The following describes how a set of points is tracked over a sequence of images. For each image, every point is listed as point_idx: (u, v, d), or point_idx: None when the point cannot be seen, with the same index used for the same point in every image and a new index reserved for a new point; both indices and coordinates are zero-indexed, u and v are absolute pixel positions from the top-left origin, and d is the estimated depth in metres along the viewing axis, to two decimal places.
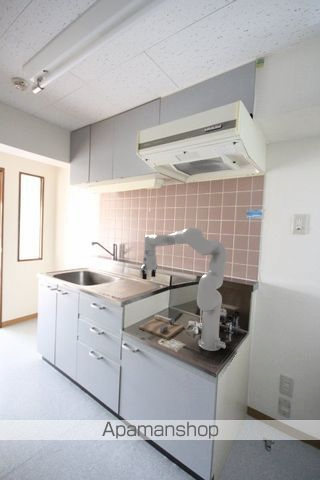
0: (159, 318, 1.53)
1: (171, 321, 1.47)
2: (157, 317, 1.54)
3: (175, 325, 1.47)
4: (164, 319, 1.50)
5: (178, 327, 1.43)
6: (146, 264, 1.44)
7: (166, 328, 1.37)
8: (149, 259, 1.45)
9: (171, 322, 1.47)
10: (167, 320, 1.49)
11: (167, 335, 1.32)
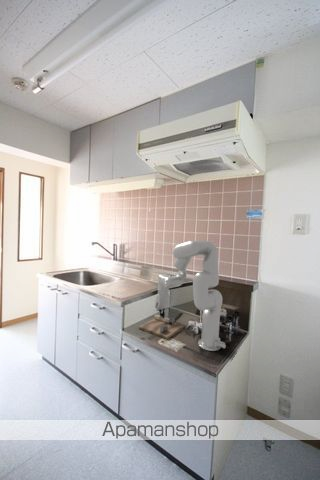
0: (159, 318, 1.53)
1: (171, 321, 1.47)
2: (157, 317, 1.54)
3: (175, 325, 1.47)
4: (164, 319, 1.50)
5: (178, 327, 1.43)
6: None
7: (166, 328, 1.37)
8: None
9: (171, 322, 1.47)
10: (167, 320, 1.49)
11: (167, 335, 1.32)
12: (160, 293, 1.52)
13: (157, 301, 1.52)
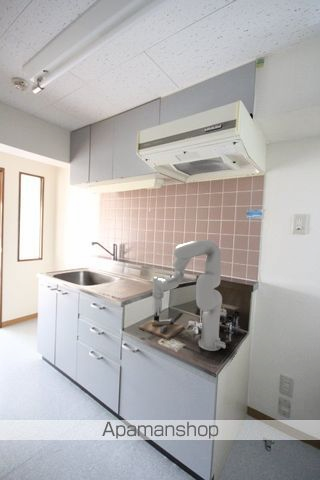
0: (158, 323, 1.45)
1: (173, 321, 1.47)
2: (156, 323, 1.44)
3: (175, 325, 1.47)
4: (164, 322, 1.46)
5: (178, 327, 1.43)
6: None
7: (166, 328, 1.37)
8: None
9: (173, 322, 1.47)
10: (168, 321, 1.47)
11: (167, 335, 1.32)
12: (160, 296, 1.44)
13: (158, 305, 1.43)
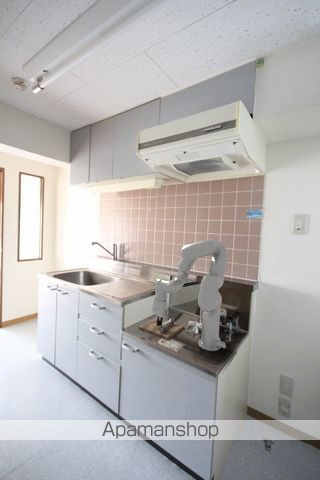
0: None
1: (173, 320, 1.48)
2: None
3: (175, 325, 1.47)
4: (168, 323, 1.44)
5: (178, 327, 1.43)
6: None
7: (166, 328, 1.37)
8: (154, 303, 1.42)
9: (173, 321, 1.48)
10: (170, 322, 1.46)
11: (167, 335, 1.32)
12: (166, 298, 1.39)
13: (165, 308, 1.38)
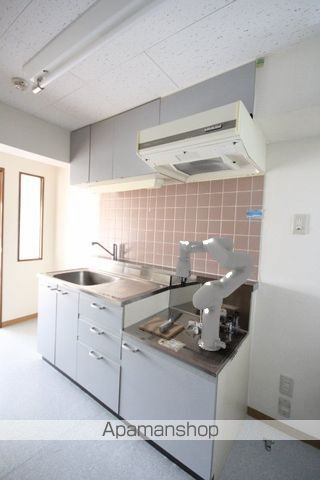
0: None
1: (173, 320, 1.48)
2: None
3: (175, 325, 1.47)
4: (168, 323, 1.44)
5: (178, 327, 1.43)
6: None
7: (166, 328, 1.37)
8: (177, 265, 1.46)
9: (173, 321, 1.48)
10: (170, 322, 1.46)
11: (167, 335, 1.32)
12: (189, 259, 1.43)
13: (189, 269, 1.42)
